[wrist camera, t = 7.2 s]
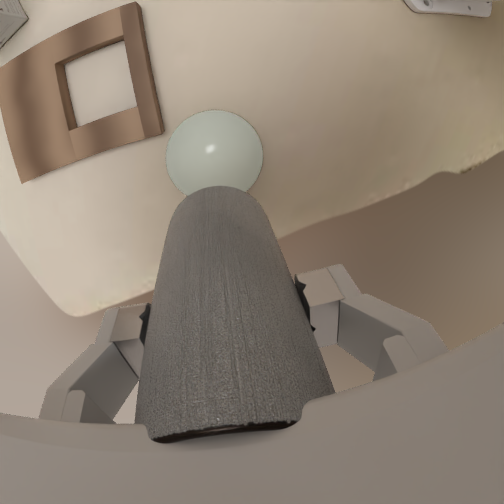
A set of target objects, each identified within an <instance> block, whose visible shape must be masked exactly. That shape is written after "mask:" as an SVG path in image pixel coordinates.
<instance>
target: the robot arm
mask: <svg viewBox="0 0 504 504" xmlns="http://www.w3.org/2000/svg"><path fill="white" fill-rule="evenodd" d="M404 1H405V2H406V4H407V5H408V6H409V7H410V8H411V9H412V10H413V11H414V12H417V13H439V14H455V15H466V16H475V17H483V18H484V17H489V16H490V15H491V11H492V1H501V0H404ZM424 2H425V4H424ZM295 286H296V289H297V292H298V295H299V297H300V300H301V302H302V305H303V307H304V310H305V313H306V315H307V318H308V320H309V323H310V326H311V328H312V331H313V334H314V336H315V339H316V341H317V344H318V347H319V348H320V347H324V346H329V345H333V344H337V343H338V344H337V345H339V346H340V347H341V348H343V349H344V350H345V351H347V352H348V353H350V354H351V355H352V356H354V357H355V358H356V359H358V360H359V361H360V362H362V363H363V364H365V365H366V366H367V367H369V368H370V369H372V370H373V371H374V372H375V375H374V378H373V381H372V382H370V383H367V384H364V385H360V386H357V387H354V388H351V389H348V390H344V391H341V392H338V393H334V394H331V395H327V396H323V397H319V398H316V399H312V400H310V401H308V402H307V403H306V404H305V405H304V407H303V409H302V417H301V419H300V420H299V421H298V422H297V423H296V424H294V425H292V426H290V427H288V428H285V429H281V430H273V431H257V432H244V433H234V434H224V435H216V436H209V437H202V438H195V439H190V440H185V441H180V442H175V443H168V444H163V443H157V442H154V441H152V440H151V439H149V437H148V432H147V429H146V427H145V426H144V425H143V424H116V423H115V422H114V421H113V418H114V417H115V415H116V414H117V412H118V411H119V409H120V408H121V406H122V405H123V403H124V402H125V400H126V399H127V397H128V396H129V394H130V393H131V391H132V389H133V388H134V386H135V385H136V384H137V382H138V381H139V379H140V372H141V365H142V358H143V351H144V345H145V339H146V333H147V327H148V321H149V316H150V310H151V304H149V303H143V304H136V305H129V306H122V307H116V308H110V309H108V310H106V312H105V315H104V317H103V320H102V323H101V326H100V329H99V332H98V336H97V338H96V342H95V344H92V345H90V346H89V347H88V348H87V349H86V350H85V351H84V352H83V353H82V354H81V355H80V356H79V357H78V358H77V359H76V360H75V361H74V362H73V363H72V364H71V365H70V366H69V367H68V368H67V369H66V370H65V371H64V372H63V373H62V374H61V375H60V376H59V377H58V378H57V379H56V380H55V381H54V382H53V383H52V384H51V385H50V387H49V388H48V389H47V392H46V395H45V398H44V401H43V404H42V408H41V412H40V415H39V418H38V419H35V418H28V417H21V416H16V415H10V414H4V413H0V504H504V322H503V323H502V324H500V325H498V326H496V327H495V328H493V329H491V330H489V331H488V332H486V333H484V334H482V335H480V336H478V337H476V338H474V339H472V340H470V341H468V342H467V343H464V344H462V345H460V346H458V347H456V348H454V349H452V350H450V351H449V350H448V348H447V347H446V345H445V344H444V342H443V341H442V340H441V338H440V337H439V335H438V334H437V332H436V331H435V330H434V328H433V327H432V326H431V324H430V323H429V322H427V321H425V320H423V319H421V318H418V317H417V316H414V315H412V314H410V313H408V312H406V311H403V310H401V309H399V308H397V307H395V306H392V305H390V304H388V303H386V302H384V301H382V300H379V299H377V298H375V297H373V296H371V295H368V294H363V295H362V294H361V292H360V291H359V289H358V288H357V286H356V284H355V283H354V281H353V280H352V278H351V277H350V275H349V274H348V272H347V271H346V269H345V268H344V266H343V265H342V264H337V265H333V266H329V267H326V268H322V269H318V270H314V271H309V272H304V273H300V274H295Z"/></svg>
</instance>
